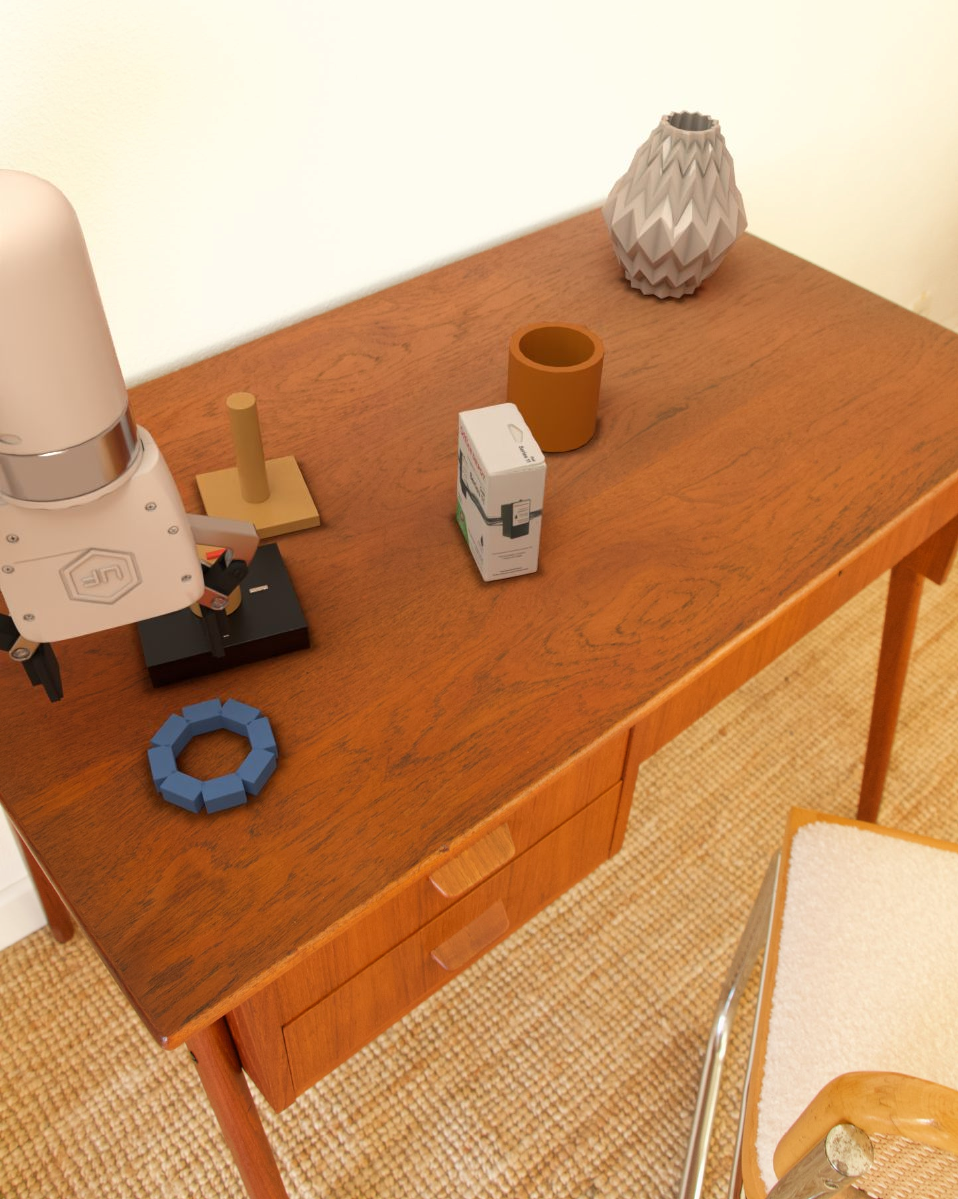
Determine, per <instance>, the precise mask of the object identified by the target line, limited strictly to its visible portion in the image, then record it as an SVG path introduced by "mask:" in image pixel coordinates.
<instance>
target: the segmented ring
mask: <svg viewBox="0 0 958 1199" xmlns="http://www.w3.org/2000/svg"><path fill="white" fill-rule="evenodd" d="M181 712H182V715H183V716H180V715H178V714H176V713H171V715H170V716H169V717H168V718H167V720H165V722H164V723H163V724H162V725H161V727H160V728H159V729H158V730H157V731H156V732H155V734H154V735H153V736H152V738H151V739H150V741H149V742H150V745H151V748H149V749H147V756H148V761H149V765H150V770H151V771H150V772H151V775H152V780H153V783H154V786H155V789H156V791H157V793H158V794H160V793H161V795H162V797H163V800H164V801H166V802H168V803H171V804H173V805H175V806H177V807H180V808H183V809H185V810H187V811H189V812H191V813H194V814H198V813H200V811H201V809H202V808H203V806H205V810H206V812H207V814H208V815H210V814H214V813H217V812H220V811H224V810H227V809H230V808H233V807H237V806H240V805H244V804H247V803H248V797H247V794H249V795H253V796H255V797H257V796H258V795H259V794H260V792H261V791H262V789H263V788H264V786H266V783H267V782H268V780H269V779H270V778H271V776H272V775H273V773H274V772H275V770H276V769H277V767H278V765H277V760H276V759H279V752H278V746H277V742H276V740H275V739H276V738H275V737H274V733H273V730H272V727H271V723H270V721H269V718H268V716H263V713H262V710H261V709H259V708H256V707H253V706H251V705H248V704H246V703H243V702H240V701H237V700H235V699H233V698H230V697H229V698H228V699H227V700H226V701H225V703H223V705H222V703H221V699H220V697H215V698H213V699H209V700H206V701H202V702H198V703H195V704H191V705H187V706H183V707H181ZM221 729H224V730H227V731H229V732H232V733H235V734H237V735H240V736H242V737H245V738H247V739H248V741H249V744H250V748H251V751H250V752H249V753H248V755H247V756H246V758H245V759H244V760H243V762H242V763H241V764H240V766H239V767H238V768H237V769H236V771H235V772H233V773H229V774H225V775H222V776H219V777H215V778H212V779H208V780H205V781H203V780H200V779H198V778H196V777H193V776H190V775H188V774H185V773H183V772H181V771H179V769H178V765H177V760H176V759H177V758H178V756H179V755H180V754H181V752H182V751H183V750H185V747H186V746H187V745H188V744H189V742H190V741H191V740H192V738H193V737H195V736H199V735H203V734H206V733H210V732H214V731H217V730H221ZM246 793H247V794H246Z"/></svg>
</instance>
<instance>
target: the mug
mask: <svg viewBox="0 0 958 1199" xmlns="http://www.w3.org/2000/svg"><path fill="white" fill-rule="evenodd" d="M605 350H606V349H605V345H604V343H603V340H602V339H601V338H600V337H599V335H598V334H596V333H595V332H594V331H591V330H590V329H589V328H588V326H586V325H584V324H580V323H578V324H574V323H571V322H570V323H569V322H564V321H563V322H562V321H542V322H539V323H532V324H529V325H526V326H524V327H522V328H520V329H518V331H516V332H515V333H514V334H513V335H512V336H511V338H510V340H509V343H508V364H507V383H506V384H507V385H506V386H507V388H506V403H512V404H515V405H516V407H517V409H518V411H519V412H520V414H521V415H522V417H523V419H524V422H525V423H526V425H527V426H528V428H529V429H530V431H531V433H532V436H533V438H534V439H535V441H536V442H537V444H538V446H539V448H540V450H541V452H546V453H563V452H567V451H572V450H576V449H578V448H580V447H582V446H584V445H586V444H588V442H589V441H590V440H591V439H592V438H593V437H594V434H595V430H596V425H597V415H598V410H599V408H598V407H599V401H600V400H599V399H600V391H601V382H602V375H603V368H604V367H603V366H604V359H605V358H604V357H605Z"/></svg>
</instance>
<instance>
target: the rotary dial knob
mask: <svg viewBox="0 0 958 1199" xmlns="http://www.w3.org/2000/svg"><path fill="white" fill-rule="evenodd" d="M196 547H197V550H198V554H199V558H201V559H203V560H205V561H207V562H209V563H211V564H214V562H215V561H216V560H217V559H218V558H219V557H220V555H221V554H222V553H223V552H224V551H225V550H226V549H228V548H221V547H213V546H205V545H197V544H196ZM228 598H229V604H228V606H227V607H226V608H225V609H226V613H227V615H229V614H231V613H232V612H234V611H235V610H236V609H237V608H238V606H239V605H240V603H241V599H242V596H241V591H240V586H239V585H238V586H237V587H236V588H235V589H234V591H233V592H232V593H231V594H230V595H229V596H228ZM190 609H191V610H192V612H193V613H195V614H196V615H198V616H200V617H202V614H201V611H200V607H199V603H197V602H195V603H193V604H192V605H190Z"/></svg>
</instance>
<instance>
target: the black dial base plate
mask: <svg viewBox="0 0 958 1199" xmlns="http://www.w3.org/2000/svg"><path fill="white" fill-rule="evenodd" d="M279 548H280V547H279V546H278V542H271V543H267V544H261V545H258V548H257V550H256V552H255V554H254V557H253V559H252V561H250V563H249V566H248V570H249V572H248V574H247V576H246V577H245V578H244V579H243V580H242V582H241V583H240V584H239V586H240V591H241V596H242V599H241V603H240V605H239V606H238V608H237V609H236V610H235V611H234V612H232V613H231V614H229V615H227V618H228V622H229V626H230V630H231V634H229V635H225V636H222V637H221V641H222V645H223V649H224V653H225V656H223V657H219V658H217V656H215V657H213V654H212V650H211V647H210V643H209V640H208V636H207V633H206V629H205V626H204V622H203V618H202V617H200V616H198V615H196V614H195V613H193V612H192V610H191V609H190V606H188V607H186V608H183V609H181V610H178V611H174V612H171V613H168V614H164V615H160V616H156V617H153V618H149V619H145V620H141V621H138V622H136V624H137V628H138V633H139V637H140V642H141V648H142V652H143V655H144V660H145V666H146V669H147V672H148V675H149V679H150V681H151V685H152V688H153V689H158V688H161V687H165V686H169V685H173V684H177V683H181V682H184V681H188V680H192V679H195V678H200V677H203V676H206V675H211V674H214V673H219V672H222V671H227V670H230V669H233V668H237V667H242V666H245V665H249V664H253V663H257V662H260V661H265V660H267V659H271V658H275V657H280V656H283V655H287V654H290V653H294V652H299V651H303V650H307V649H310V648H311V641H310V640H311V639H310V634H309V627H308V623H307V620H306V618H305V615H304V612H303V609H302V608H301V604H300V602H299V599H298V597H297V593H296V591H295V588H294V586H293V583H292V581H291V577H290V575H289V572H288V569H287V567H286V564H285V561H284V560H283V559H284V558H283V557H282V553H281V551H280V549H279Z"/></svg>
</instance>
